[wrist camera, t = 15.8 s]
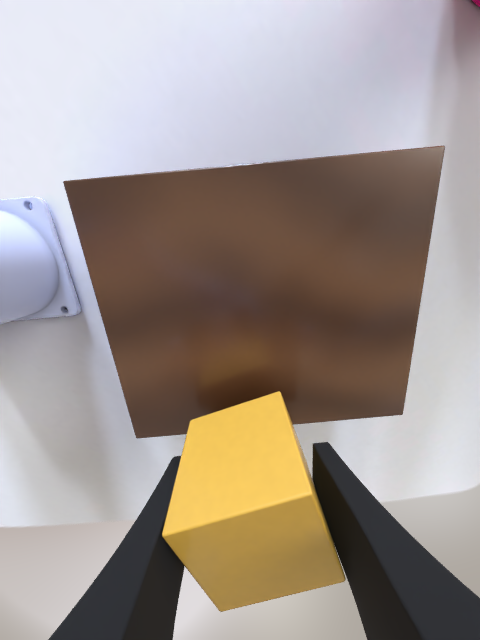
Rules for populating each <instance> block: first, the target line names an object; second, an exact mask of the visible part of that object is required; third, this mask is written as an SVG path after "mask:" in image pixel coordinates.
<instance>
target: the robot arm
mask: <svg viewBox="0 0 480 640" xmlns="http://www.w3.org/2000/svg"><path fill="white" fill-rule="evenodd" d="M30 203H31V204H32V210H31V209H30V207H29V204H30ZM65 307H66V308H67V309H68V312H67V311H66V310H65ZM80 312H81V306H80V303H79V300H78V297H77V294H76V291H75V288H74V285H73V282H72V279H71V275H70V272H69V269H68V266H67V263H66V260H65V257H64V254H63V251H62V248H61V245H60V241H59V238H58V235H57V232H56V229H55V226H54V223H53V220H52V217H51V214H50V211H49V207H48V205H47V203H46V201H45V200H44V199H42V198H39V197H34V196H33V197H22V198H12V199H1V200H0V324H3V323H6V322H9V321H19V320H30V319H41V318H52V317H63V316H74V315H77V314H79V313H80ZM180 460H181V456H177V457H173V459H172V460H171V462H170V464H169V466H168V467H167V469H166V471H165V473H164V475H163V476H162V478H161V480H160V482H159V483H158V485H157V487H156V489H155V490H154V492H153V494H152V495H151V497H150V499H149V500H148V502H147V503H146V505H145V507H144V508H143V510H142V512H141V513H140V515H139V516H138V518H137V520H136V521H135V523H134V524H133V526H132V527H131V529H130V530H129V532H128V533H127V535H126V536H125V538H124V540H123V541H122V542H121V544H120V545H119V547H118V549H117V550H116V551H115V553H114V554H113V556H112V557H111V558H110V560H109V561H108V563H107V564H106V566H105V567H104V568H103V570H102V571H101V572H100V574H99V575H98V576H97V578H96V579H95V580H94V582H93V583H92V585H91V586H90V587H89V589H88V590H87V591H86V593H85V594H84V595H83V597H82V598H81V599H80V600H79V602H78V603H77V604H76V606H75V607H74V608H73V609H72V611H71V612H70V613H69V614H68V616H67V617H66V618H65V620H64V621H63V622H62V623H61V625H60V626H59V627H58V628H57V630H56V631H55V632H54V633H53V635H52V636H51V637H50V638H49V640H172V639H173V631H174V623H175V616H176V610H177V604H178V598H179V592H180V587H181V582H182V577H183V572H184V566H185V565H184V564H183V563H182V562H181V560H180V559H179V558H178V556H177V555H176V554H175V552H174V551H173V550H172V549H171V547H170V546H169V545H168V543H167V542H166V541H165V539H164V538H163V537H162V532H163V528H164V524H165V520H166V516H167V512H168V508H169V504H170V500H171V496H172V492H173V488H174V484H175V480H176V476H177V472H178V468H179V464H180ZM312 479H313V482H314V486H315V490H316V493H317V496H318V499H319V502H320V505H321V508H322V510H323V513H324V516H325V519H326V522H327V525H328V528H329V531H330V534H331V537H332V540H333V542H334V545H335V547H336V550H337V553H338V555H339V558H340V561H341V563H342V566H343V568H344V571H345V574H346V576H347V579H348V582H349V584H350V587H351V590H352V593H353V596H354V599H355V602H356V604H357V607H358V611H359V614H360V617H361V621H362V624H363V627H364V630H365V633H366V637H367V640H480V598H479V597H478V596H477V595H476V594H474V593H473V592H472V591H471V590H470V589H469V588H467V587H466V586H465V585H464V584H463V583H462V582H460V580H458V579H457V578H456V577H455V576H454V575H453V574H452V573H451V572H450V571H449V570H447V569H446V568H445V567H444V566H443V565H442V564H441V563H440V562H438V560H436V559H435V558H434V557H433V556H432V555H431V554H430V553H429V552H428V551H427V550H426V549H425V548H423V546H422V545H421V544H420V543H419V542H417V541H416V540H415V539H414V538H413V537H412V536H411V535H410V534H409V533H408V532H407V531H406V530H405V529H404V528H403V527H402V526H401V525H400V524H399V523H398V522H397V521H396V519H395V518H394V517H393V516H391V514H390V513H389V512H388V511H387V510H386V509H385V508H384V507H383V506H382V505H381V504H380V503H379V502H378V500H377V499H376V498H375V497H374V496H373V495H372V494H371V493H370V492H369V490H368V489H367V488H366V487H365V486H364V485H363V484H362V483H361V482H360V480H359V479H358V478H357V477H356V476H355V475H354V473H353V472H352V471H351V470H350V469H349V467H348V466H347V465H346V464H345V463H344V461H343V460H342V459H341V458H340V457H339V455H338V454H337V453H336V451H335V450H334V449H333V448H332V446H331V445H330V444H329V443H328V442H324V443H313V476H312Z"/></svg>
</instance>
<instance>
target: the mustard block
mask: <svg viewBox="0 0 480 640" xmlns="http://www.w3.org/2000/svg"><path fill="white" fill-rule="evenodd" d="M162 537H163V538H164V539H165V541H166V542H167V543H168V545H169V546H170V547H171V549H172V550H173V551H174V552H175V554H176V555H177V556H178V558H179V559H180V560H181V562H182V563H183V564H184V565H185V567H186V568H187V569H188V571H189V572H190V573H191V575H192V576H193V577H194V578H195V580H196V581H197V582H198V584H199V585H200V586H201V588H202V589H203V590H204V591H205V593H206V594H207V595H208V597H209V598H210V599H211V601H212V602H213V603H214V604H215V606H216V607H217V608H218V610H219V611H221V612H222V611H226V610H230V609H234V608H238V607H242V606H247V605H251V604H255V603H259V602H263V601H267V600H271V599H275V598H280V597H283V596H288V595H292V594H296V593H300V592H304V591H308V590H312V589H316V588H320V587H325V586H329V585H333V584H336V583H341V582H344V581H345V575H344V572H343V569H342V566H341V563H340V560H339V557H338V554H337V551H336V548H335V545H334V542H333V540H332V537H331V534H330V531H329V528H328V525H327V522H326V519H325V516H324V513H323V510H322V508H321V505H320V502H319V499H318V496H317V493H316V490H315V486H314V483H313V480H312V477H311V474H310V471H309V468H308V465H307V462H306V459H305V457H304V454H303V451H302V449H301V446H300V443H299V440H298V438H297V435H296V432H295V430H294V427H293V424H292V422H291V419H290V416H289V414H288V411H287V408H286V406H285V403H284V400H283V397H282V395H281V392H280V391H278V392H275V393H272V394H269V395H266V396H263V397H260V398H257V399H254V400H251V401H248V402H245V403H242V404H238V405H235V406H232V407H229V408H226V409H223V410H220V411H217V412H214V413H211V414H208V415H205V416H202V417H199V418H196V419H193V420H191V421H190V423H189V427H188V431H187V435H186V440H185V444H184V448H183V452H182V456H181V460H180V464H179V468H178V472H177V476H176V480H175V484H174V488H173V492H172V496H171V500H170V504H169V508H168V512H167V516H166V520H165V524H164V528H163V532H162Z"/></svg>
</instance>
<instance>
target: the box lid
mask: <svg viewBox="0 0 480 640" xmlns="http://www.w3.org/2000/svg"><path fill="white" fill-rule="evenodd" d="M444 149H445V146H435V147H424V148H414V149H403V150H392V151H381V152H371V153H360V154H349V155H338V156H328V157H317V158H306V159H295V160H285V161H274V162H263V163H252V164H242V165H231V166H220V167H210V168H199V169H188V170H177V171H167V172H156V173H145V174H134V175H124V176H113V177H102V178H91V179H81V180H70V181H64V182H63V183H64V186H65V190H66V193H67V197H68V201H69V204H70V208H71V211H72V215H73V218H74V222H75V225H76V229H77V232H78V236H79V239H80V243H81V246H82V250H83V253H84V257H85V260H86V264H87V267H88V271H89V274H90V278H91V281H92V285H93V288H94V292H95V295H96V299H97V302H98V306H99V309H100V313H101V316H102V320H103V323H104V327H105V330H106V334H107V337H108V341H109V344H110V348H111V351H112V355H113V358H114V362H115V365H116V369H117V372H118V376H119V379H120V383H121V386H122V390H123V393H124V397H125V400H126V404H127V407H128V411H129V414H130V418H131V421H132V425H133V428H134V432H135V435H136V438H147V437H159V436H170V435H181V434H187V431H188V427H189V423H190V421H191V420H193V419H196V418H199V417H202V416H205V415H208V414H211V413H214V412H217V411H220V410H223V409H226V408H229V407H232V406H235V405H238V404H242V403H245V402H248V401H251V400H254V399H257V398H260V397H263V396H266V395H269V394H272V393H275V392H278V391H280V392H281V395H282V397H283V400H284V403H285V406H286V408H287V411H288V414H289V416H290V419H291V422H292V424H304V423H315V422H326V421H337V420H348V419H360V418H371V417H382V416H393V415H402V414H403V409H404V403H405V397H406V390H407V384H408V378H409V371H410V365H411V358H412V352H413V346H414V339H415V333H416V327H417V320H418V314H419V308H420V301H421V295H422V289H423V282H424V276H425V270H426V263H427V257H428V251H429V244H430V238H431V232H432V225H433V219H434V213H435V206H436V200H437V194H438V187H439V181H440V175H441V168H442V162H443V156H444Z"/></svg>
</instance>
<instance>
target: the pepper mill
mask: <svg viewBox="0 0 480 640" xmlns="http://www.w3.org/2000/svg"><path fill="white" fill-rule="evenodd" d="M472 1H473V2H474V3H475V4H476V5H477V6H478V7H480V0H472Z"/></svg>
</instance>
